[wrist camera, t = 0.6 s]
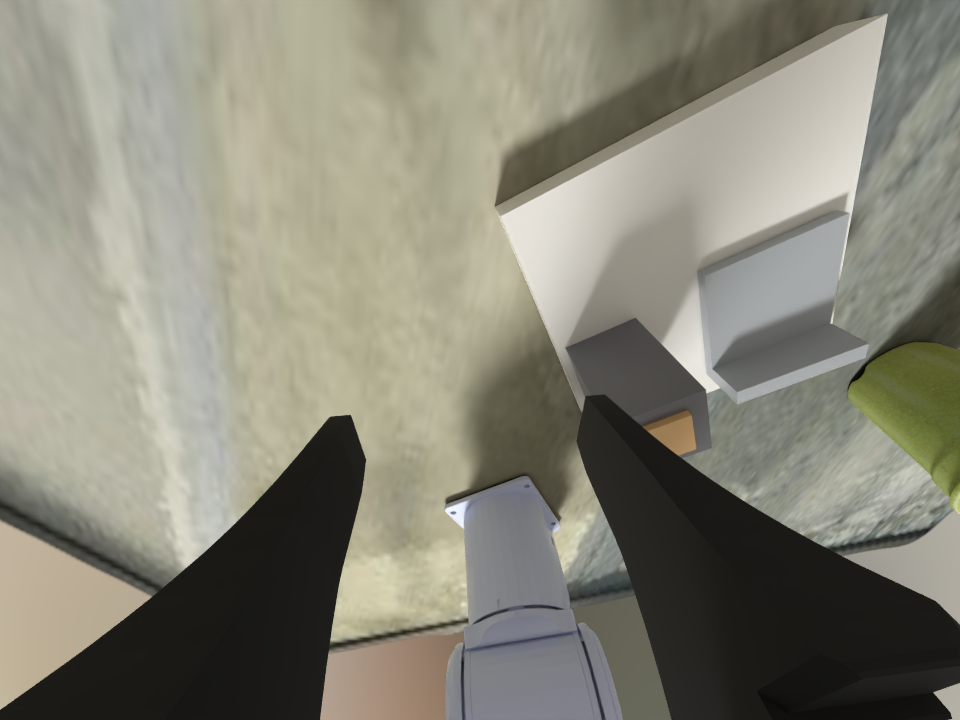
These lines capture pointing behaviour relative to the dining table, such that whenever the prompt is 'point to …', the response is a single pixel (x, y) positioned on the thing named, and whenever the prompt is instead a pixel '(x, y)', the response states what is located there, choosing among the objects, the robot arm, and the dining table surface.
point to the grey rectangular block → (645, 385)
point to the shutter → (776, 311)
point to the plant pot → (917, 407)
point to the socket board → (696, 195)
